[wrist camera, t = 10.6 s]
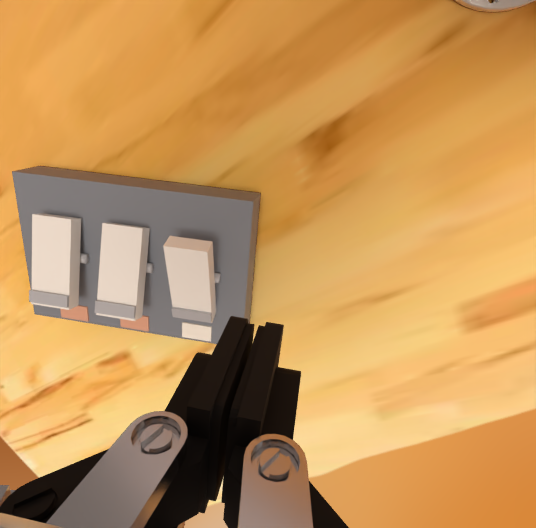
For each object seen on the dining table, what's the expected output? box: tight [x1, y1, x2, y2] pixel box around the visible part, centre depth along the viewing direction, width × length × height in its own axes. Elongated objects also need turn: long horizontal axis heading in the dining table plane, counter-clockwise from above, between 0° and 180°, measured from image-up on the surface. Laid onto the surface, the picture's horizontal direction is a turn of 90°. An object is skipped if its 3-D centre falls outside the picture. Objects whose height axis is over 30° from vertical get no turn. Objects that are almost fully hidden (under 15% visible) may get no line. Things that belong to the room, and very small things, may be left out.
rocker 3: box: [163, 236, 216, 323], centre depth 37 cm, size 9×4×2 cm, turn 175°
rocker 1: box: [29, 213, 81, 310], centre depth 39 cm, size 9×4×2 cm, turn 175°
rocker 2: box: [94, 223, 150, 321], centre depth 38 cm, size 9×4×2 cm, turn 175°
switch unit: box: [12, 166, 260, 344], centre depth 41 cm, size 16×24×5 cm, turn 85°
